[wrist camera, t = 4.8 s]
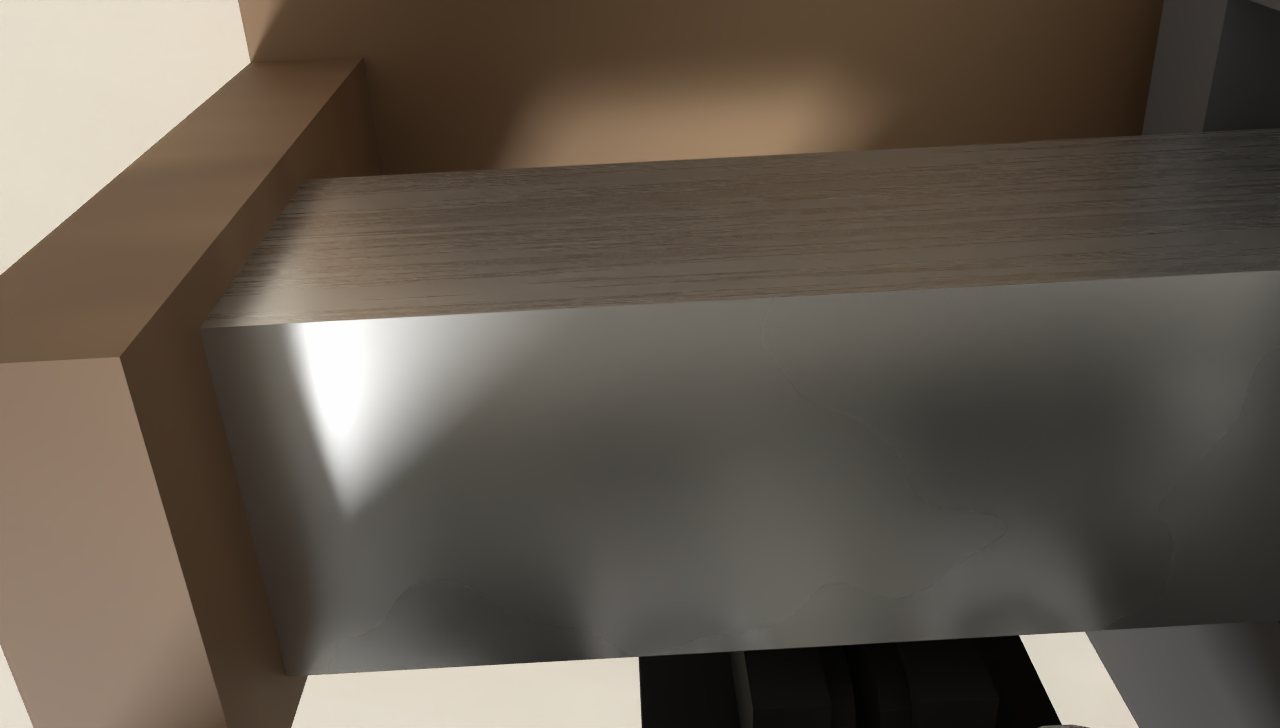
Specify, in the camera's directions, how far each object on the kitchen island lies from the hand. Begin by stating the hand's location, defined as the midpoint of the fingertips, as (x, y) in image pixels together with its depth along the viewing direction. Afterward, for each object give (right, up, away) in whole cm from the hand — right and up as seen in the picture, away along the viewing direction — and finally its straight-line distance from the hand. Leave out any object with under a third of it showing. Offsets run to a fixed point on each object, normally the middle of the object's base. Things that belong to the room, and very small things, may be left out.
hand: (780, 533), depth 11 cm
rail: (+4, +2, -3) cm, 6 cm away
